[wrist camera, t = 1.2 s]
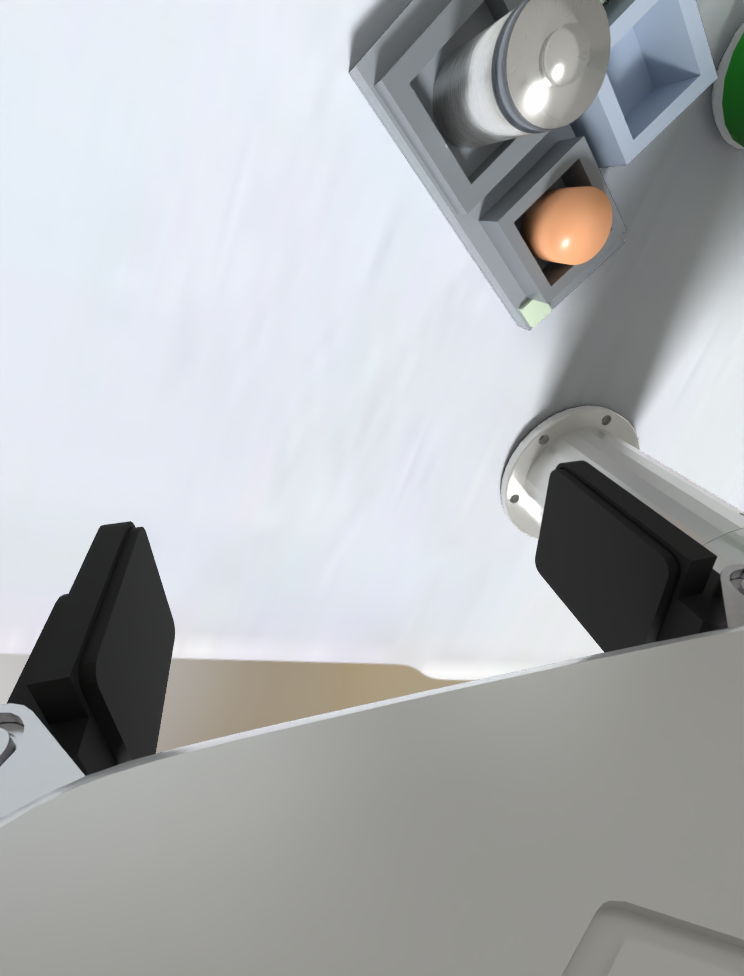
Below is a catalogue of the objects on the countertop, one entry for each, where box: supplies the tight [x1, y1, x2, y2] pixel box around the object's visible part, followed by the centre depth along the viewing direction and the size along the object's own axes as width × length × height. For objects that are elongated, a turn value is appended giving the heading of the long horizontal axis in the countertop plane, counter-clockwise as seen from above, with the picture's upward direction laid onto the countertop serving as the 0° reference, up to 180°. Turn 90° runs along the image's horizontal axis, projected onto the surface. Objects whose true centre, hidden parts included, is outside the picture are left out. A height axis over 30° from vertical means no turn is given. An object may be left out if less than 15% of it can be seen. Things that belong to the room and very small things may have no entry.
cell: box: [432, 0, 611, 149], centre depth 22 cm, size 4×4×9 cm
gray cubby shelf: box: [349, 0, 626, 331], centre depth 28 cm, size 18×8×4 cm, turn 42°
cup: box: [570, 0, 718, 168], centre depth 27 cm, size 6×6×4 cm
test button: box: [522, 186, 612, 265], centre depth 28 cm, size 4×4×3 cm
